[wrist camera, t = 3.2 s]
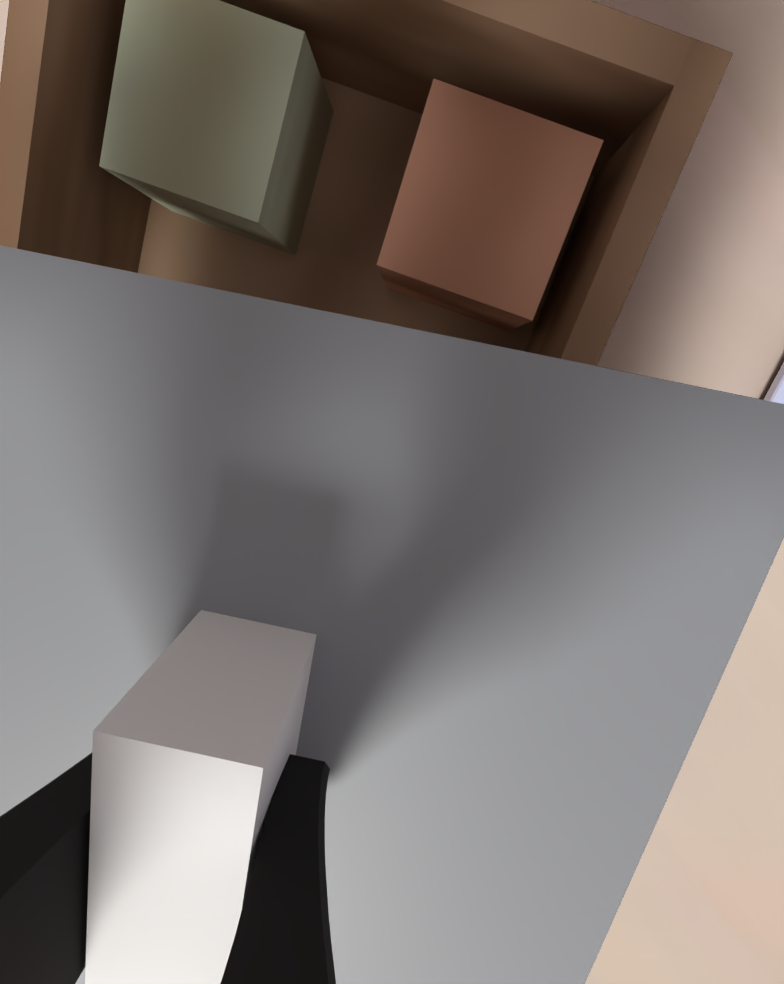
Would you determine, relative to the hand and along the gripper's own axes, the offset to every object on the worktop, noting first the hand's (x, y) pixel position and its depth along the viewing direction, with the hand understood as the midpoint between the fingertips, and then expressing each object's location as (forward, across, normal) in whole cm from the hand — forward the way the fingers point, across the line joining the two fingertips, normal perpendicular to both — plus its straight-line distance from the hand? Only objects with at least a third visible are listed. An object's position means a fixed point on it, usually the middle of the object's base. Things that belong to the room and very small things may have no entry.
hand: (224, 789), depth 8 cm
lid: (+2, 0, 0) cm, 2 cm away
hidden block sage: (+10, +4, -12) cm, 16 cm away
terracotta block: (+10, -2, -11) cm, 15 cm away
